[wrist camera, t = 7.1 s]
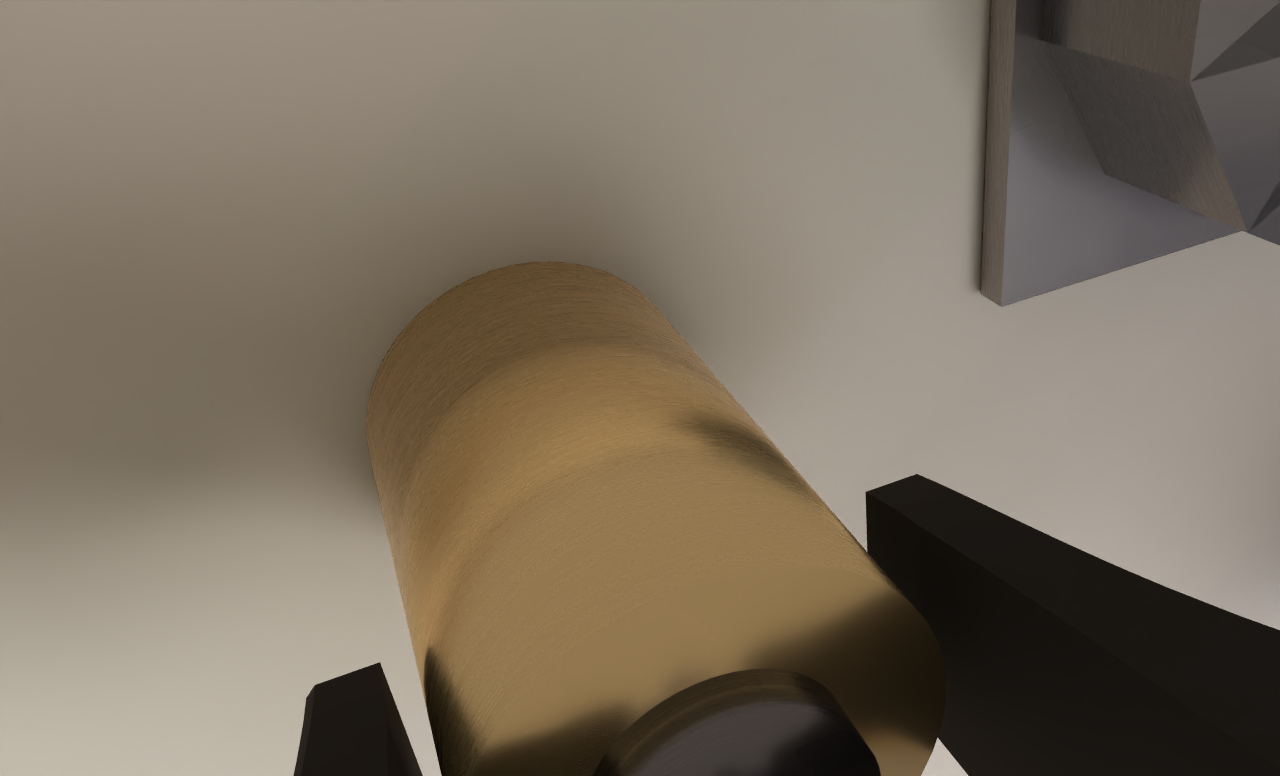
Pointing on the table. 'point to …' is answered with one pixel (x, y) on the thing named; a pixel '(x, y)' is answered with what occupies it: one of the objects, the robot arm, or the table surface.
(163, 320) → the table surface
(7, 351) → the table surface
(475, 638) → the tan cylinder
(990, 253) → the housing
